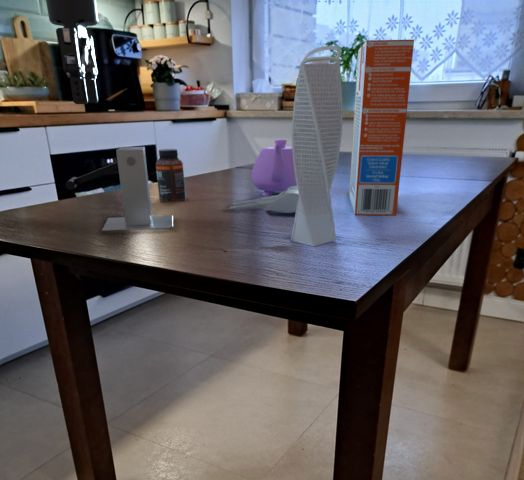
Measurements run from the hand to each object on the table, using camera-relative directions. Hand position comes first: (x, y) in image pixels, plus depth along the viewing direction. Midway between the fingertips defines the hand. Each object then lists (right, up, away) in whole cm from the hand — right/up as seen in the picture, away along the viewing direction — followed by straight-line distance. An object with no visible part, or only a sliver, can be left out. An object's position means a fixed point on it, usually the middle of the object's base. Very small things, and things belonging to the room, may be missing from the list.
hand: (86, 103), depth 88 cm
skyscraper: (+38, -24, -2) cm, 45 cm away
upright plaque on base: (+8, -20, +6) cm, 22 cm away
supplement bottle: (+10, -9, +29) cm, 32 cm away
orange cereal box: (+54, -10, +25) cm, 60 cm away
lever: (+3, -12, +1) cm, 13 cm away
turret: (+33, -14, +19) cm, 40 cm away
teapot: (+34, -4, +39) cm, 52 cm away
